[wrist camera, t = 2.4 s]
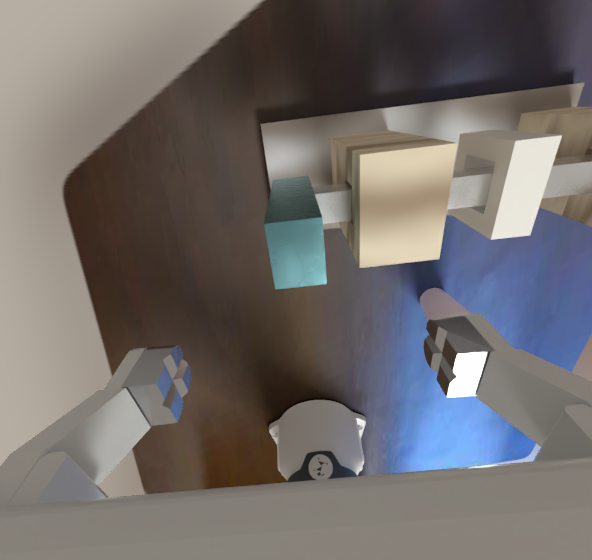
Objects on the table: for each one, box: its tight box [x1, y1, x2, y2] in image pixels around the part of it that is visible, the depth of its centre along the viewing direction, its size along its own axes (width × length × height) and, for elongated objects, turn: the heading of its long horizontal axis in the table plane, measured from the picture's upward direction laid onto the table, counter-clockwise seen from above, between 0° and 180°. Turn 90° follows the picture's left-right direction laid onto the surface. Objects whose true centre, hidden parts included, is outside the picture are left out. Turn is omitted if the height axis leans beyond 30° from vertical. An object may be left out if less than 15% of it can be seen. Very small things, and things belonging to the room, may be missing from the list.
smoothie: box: [420, 288, 472, 321], centre depth 36 cm, size 6×6×14 cm
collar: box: [448, 129, 562, 240], centre depth 24 cm, size 7×3×7 cm, turn 6°
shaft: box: [264, 154, 592, 289], centre depth 20 cm, size 4×27×11 cm, turn 96°
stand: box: [261, 83, 592, 268], centre depth 26 cm, size 12×32×15 cm, turn 96°
